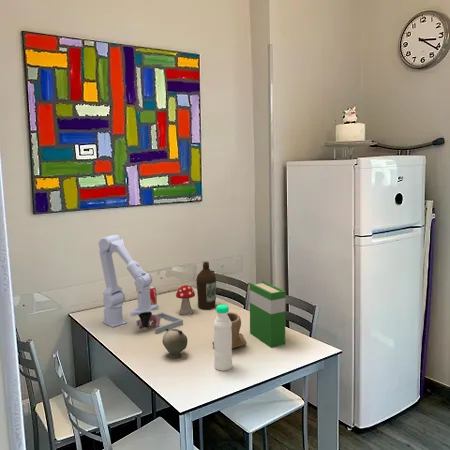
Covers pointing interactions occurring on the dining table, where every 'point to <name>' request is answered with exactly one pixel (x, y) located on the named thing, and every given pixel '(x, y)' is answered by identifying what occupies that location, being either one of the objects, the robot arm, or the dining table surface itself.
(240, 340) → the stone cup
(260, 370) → the dining table surface
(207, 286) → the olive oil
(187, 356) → the dining table surface
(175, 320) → the grey bin
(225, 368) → the water bottle
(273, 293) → the hardback book
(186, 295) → the decorative mushroom
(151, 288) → the soda can
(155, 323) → the video game controller
